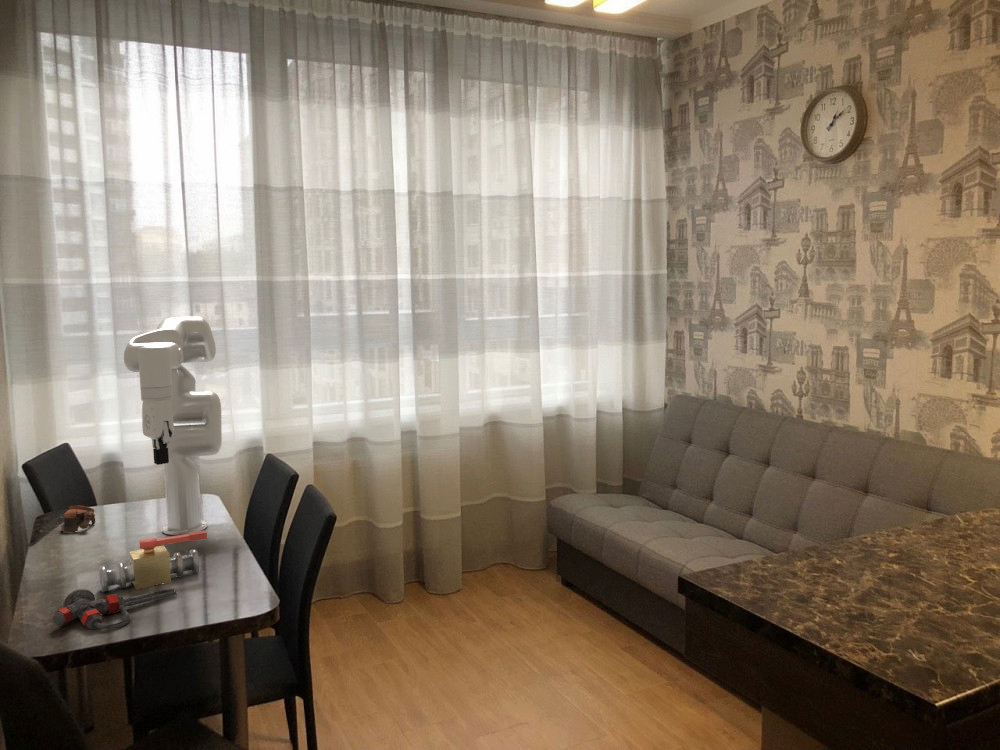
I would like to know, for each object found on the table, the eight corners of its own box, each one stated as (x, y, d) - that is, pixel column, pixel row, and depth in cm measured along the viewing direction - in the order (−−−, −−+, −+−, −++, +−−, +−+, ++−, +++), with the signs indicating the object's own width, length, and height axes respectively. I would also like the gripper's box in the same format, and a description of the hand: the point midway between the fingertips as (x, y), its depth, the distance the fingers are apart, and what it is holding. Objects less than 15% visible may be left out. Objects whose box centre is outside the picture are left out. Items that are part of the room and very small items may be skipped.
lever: (205, 535, 204) (204, 529, 203) (207, 539, 200) (207, 533, 200) (139, 545, 196) (138, 539, 196) (140, 550, 193) (140, 544, 193)
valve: (66, 653, 163) (45, 622, 173) (191, 621, 181) (165, 594, 191) (66, 625, 162) (45, 595, 172) (192, 595, 180) (166, 569, 190)
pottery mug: (52, 533, 240) (59, 506, 243) (82, 539, 247) (88, 513, 250) (73, 528, 233) (80, 501, 237) (104, 535, 240) (110, 508, 244)
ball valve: (100, 587, 193) (97, 552, 192) (194, 568, 205) (192, 535, 204) (103, 596, 188) (100, 560, 187) (200, 576, 199) (198, 542, 198)
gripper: (131, 392, 207) (136, 461, 209) (152, 397, 196) (157, 470, 198) (161, 389, 212) (165, 457, 214) (182, 394, 201) (187, 465, 203)
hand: (161, 463), depth 206 cm, fingers closed
